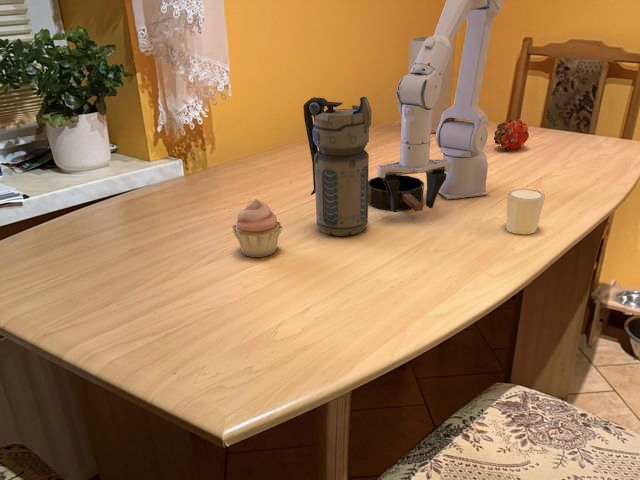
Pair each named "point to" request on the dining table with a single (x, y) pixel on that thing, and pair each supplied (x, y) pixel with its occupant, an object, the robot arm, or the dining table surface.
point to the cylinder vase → (446, 78)
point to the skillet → (407, 195)
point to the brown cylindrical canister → (339, 164)
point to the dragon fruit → (511, 134)
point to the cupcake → (257, 230)
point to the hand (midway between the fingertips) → (411, 208)
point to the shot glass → (523, 210)
